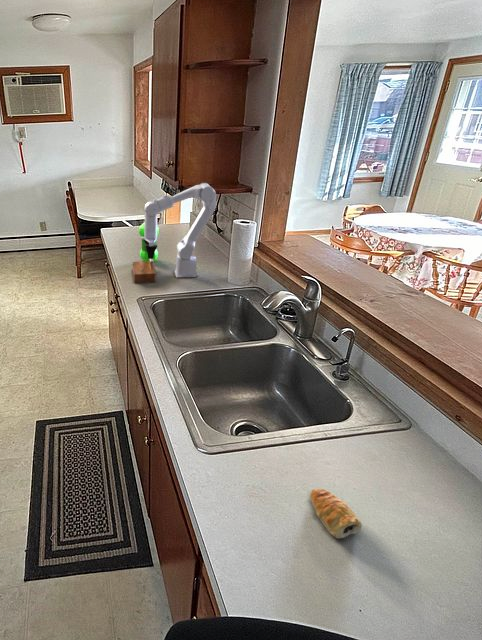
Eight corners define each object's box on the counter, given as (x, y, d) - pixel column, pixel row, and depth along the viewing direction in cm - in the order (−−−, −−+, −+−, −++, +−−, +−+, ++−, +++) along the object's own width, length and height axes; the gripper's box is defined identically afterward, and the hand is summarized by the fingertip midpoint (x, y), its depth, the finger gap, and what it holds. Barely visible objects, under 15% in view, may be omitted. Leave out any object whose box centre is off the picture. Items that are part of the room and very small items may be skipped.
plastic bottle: (136, 258, 211) (135, 213, 201) (154, 256, 214) (154, 211, 204) (143, 265, 202) (143, 218, 192) (162, 262, 205) (162, 215, 195)
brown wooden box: (151, 269, 197) (151, 262, 195) (154, 282, 183) (154, 274, 181) (132, 270, 197) (132, 263, 196) (134, 282, 183) (134, 275, 181)
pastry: (300, 499, 81) (303, 486, 80) (326, 490, 83) (330, 477, 81) (335, 543, 73) (339, 530, 72) (364, 532, 75) (369, 519, 73)
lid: (153, 262, 195) (153, 253, 193) (156, 274, 181) (156, 265, 179) (132, 263, 196) (132, 254, 194) (134, 275, 181) (134, 265, 179)
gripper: (140, 223, 187) (140, 250, 192) (143, 233, 173) (142, 261, 179) (155, 223, 187) (154, 250, 192) (159, 232, 173) (157, 261, 179)
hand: (149, 255), depth 186 cm, fingers open, 7 cm apart
